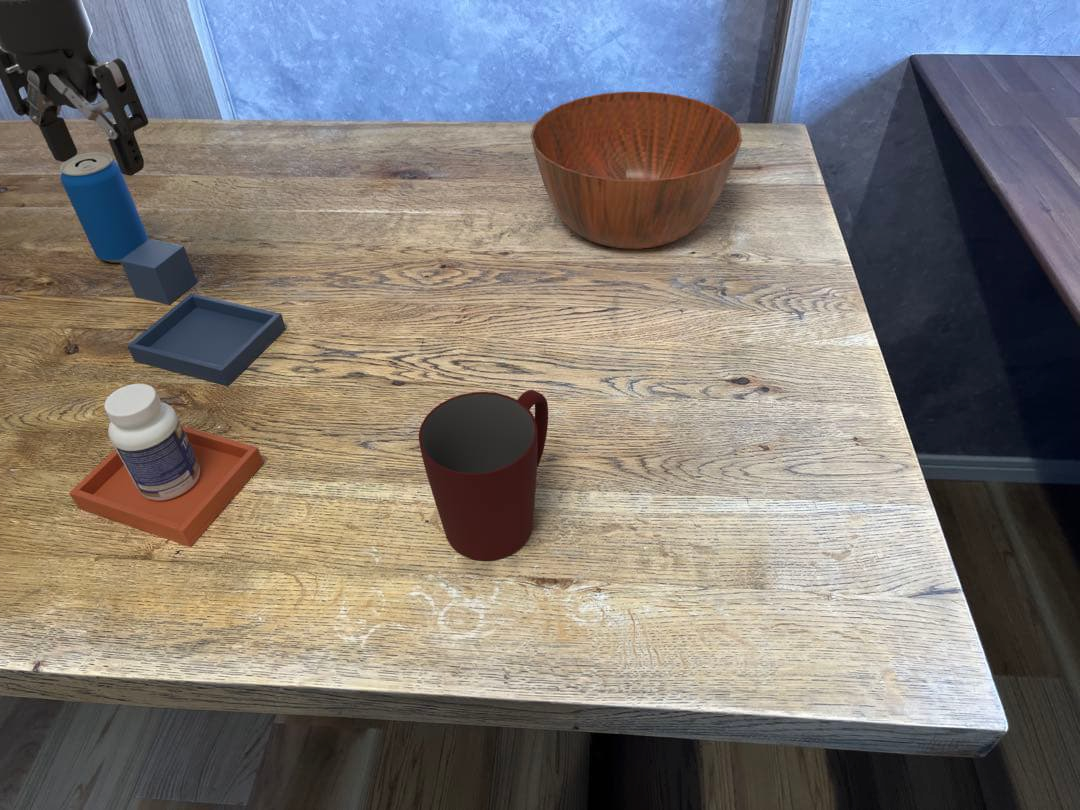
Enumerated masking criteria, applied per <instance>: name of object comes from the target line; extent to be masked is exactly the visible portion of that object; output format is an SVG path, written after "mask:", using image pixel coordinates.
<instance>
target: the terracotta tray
mask: <svg viewBox="0 0 1080 810" xmlns="http://www.w3.org/2000/svg"><path fill="white" fill-rule="evenodd" d="M181 426H182V428H183V430H184V432H185V434H186V436H187V439H188V441H189V443H190V445H191V448H192V450H193V452H194V454H195V457H196V459H197V461H198V464H199V466H200V475H199V478H198V480H197V482H196V483H195V485H194V486H193V487H192V488H191V489H189V490H188V491H187V492H185V493H184V494H182V495H180V496H178V497H175V498H172V499H169V500H163V501H155V500H150V499H147V498H146V497H144V496H143V495H142V494H141V493H140V492H139V490H138V489H137V487H136V486H135V484H134V482H133V480H132V478H131V476H130V474H129V472H128V471H127V469H126V467H125V465H124V463H123V461H122V460H121V458H120V456H119V454H118V453H117V451H116V449H115V448H114V450H113V451H112V452H111V453H109V455H108V456H106V458H104V459H103V460H102V461H101V462H100V463H99V464H98V465H97V466H96V467H95V468H94V469H93V470H91V472H90V473H89V474H87V475H86V476H85V477H84V478H83V479H82V480H81V481H80V482H79V483H78V484H76V486H74V487H73V488H72V489H71V490H70V491H69V492H68V494H69V496H70V497H71V499H72V500H73V502H74V504H75V505H76V507H77V508H78V509H79V510H82V511H84V512H88V513H90V514H93V515H97V516H99V517H103V518H105V519H108V520H111V521H113V522H117V523H119V524H123V525H125V526H128V527H131V528H134V529H137V530H140V531H142V532H145V533H149V534H151V535H155V536H157V537H161V538H164V539H165V540H166V539H167V540H170V541H172V542H175V543H177V544H181V545H184V546H187V547H189V548H191V547H192V546H193V545H194V544H195V543H196V541H197V540H198V539H199V538H200V537H201V536H202V535H203V534H204V532H206V530H207V529H208V528H209V527H210V525H211V524H212V523H213V522H214V521H215V520H216V519H217V517H218V516H219V515H220V514H221V513H222V512H223V511H224V509H226V507H227V506H228V505H229V504H230V503H231V502H232V501H233V499H235V497H236V496H237V495H238V494H239V492H240V491H241V490H242V488H244V486H245V485H246V484H247V483H248V482H249V481H250V480H251V479H252V477H253V476H254V475H255V474H256V473H257V471H259V469H260V468H261V467H262V466H263V465H264V460H263V458H262V455H261V452H260V449H259V447H258V446H254V445H251V444H247V443H244V442H240V441H237V440H234V439H230V438H228V437H223V436H221V435H217V434H213V433H210V432H206V431H204V430H199V429H196V428H192V427H189V426H186V425H182V424H181Z"/></svg>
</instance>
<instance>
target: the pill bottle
mask: <svg viewBox="0 0 1080 810" xmlns="http://www.w3.org/2000/svg"><path fill="white" fill-rule="evenodd" d="M103 407H104V411H105V413H106V415H107V417H108V420H109V421H110V423H109V425H108V430H107V431H108V432H107V433H108V437H109V439H110V442H111V443H112V445H113V447H114V450H115V449H116V451H117V453H118V454H119V456H120V458H121V460H122V461H123V463H124V465H125V467H126V469H127V471H128V472H129V474H130V476H131V478H132V480H133V482H134V484H135V486H136V487H137V489H138V490H139V492H140V493H141V494H142V495H143V496H144V497H146V498H147V499H150V500H155V501H163V500H169V499H172V498H175V497H178V496H180V495H182V494H184V493H185V492H187V491H188V490H189V489H191V488H192V487H193V486H194V485H195V483H196V482H197V480H198V478H199V475H200V466H199V464H198V461H197V459H196V457H195V454H194V452H193V450H192V448H191V445H190V443H189V441H188V439H187V436H186V434H185V432H184V430H183V428H182V426H183V425H182V424H181V421H180V419H179V416H178V414H177V413H176V411H175V410H174V408H173V407H172V406H171V405H169V404H168V403H165V402H163V401H161V399H160V397H159V395H158V393H157V391H156V390H155V388H154V387H153V386H151V385H150V384H146V383H133V384H128V385H125V386H122V387H120V388H118V389H116V390H114V391H113V392H112V393H110V395H108V396H107V398H106V399H105V401H104V406H103ZM181 425H182V426H181Z"/></svg>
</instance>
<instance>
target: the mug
mask: <svg viewBox="0 0 1080 810" xmlns="http://www.w3.org/2000/svg"><path fill="white" fill-rule="evenodd" d="M532 407H534V414H533V412H532V411H531V409H532ZM548 428H549V405H548V401H547V398H546V396H545V395H543V394H542V393H541V392H539V391H537V390H534V389H528V390H525V391H524V392H523V393H521V395H519V397H518V398H514V397H512V396H510V395H507V394H502V393H497V392H491V391H490V392H489V391H477V392H475V391H474V392H468V393H464V394H463V393H462V394H459V395H457V396H454V397H451V398H449V399H447V400H445V401H443V402H441V403H439V404H438V405H437V406H435V407H434V408H433V409H432V410H430V412H428V414H427V415H426V416H425V417H424V419H423V420H422V423H421V425H420V427H419V431H418V444H419V449H420V454H421V458H422V462H423V466H424V470H425V472H426V477H427V481H428V484H429V486H430V490H431V493H432V497H433V500H434V503H435V506H436V509H437V512H438V517H439V520H440V522H441V525H442V528H443V532H444V535H445V537H446V540H447V542H448V544H449V545H450V546H451V548H452V549H453V550H455V551H456V552H457V553H458V554H459V555H462V556H464V557H466V558H469V559H472V560H476V561H497V560H500V559H503V558H506V557H508V556H511V555H513V554H515V553H516V552H518V551H519V550H520V549H522V547H524V545H525V544H526V543H527V541H528V540H529V538H531V534H532V531H533V526H534V519H535V517H534V515H535V502H536V487H537V473H538V468H539V465H540V463H541V460H542V456H543V455H544V449H545V446H546V442H547V441H546V440H547V434H548Z"/></svg>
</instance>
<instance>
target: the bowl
mask: <svg viewBox="0 0 1080 810" xmlns="http://www.w3.org/2000/svg"><path fill="white" fill-rule="evenodd" d="M530 140H531V144H532V148H533V153H534V156H535V159H536V163H537V167H538V171H539V174H540V177H541V180H542V182H543V186H544V188H545V191H546V194H547V196H548V198H549V200H550V202H551V205H552V206H553V208H554V210H555V212H556V213H557V215H558V216H559V217H560V219H561V220H562V221H563V222H564V223H565V224H566V225H567V226H568V227H569V228H570V230H572V232H574V233H576V234H577V235H579V236H581V237H582V238H584V239H585V240H587V241H590V242H593V243H596V244H598V245H601V246H605V247H610V248H616V249H629V250H639V249H641V250H642V249H649V248H656V247H657V248H658V247H660V246H665V245H668V244H671V243H675V242H676V241H678V240H680V239H682V238H684V237H686V236H688V235H689V234H690V233H691V232H692V231H694V230H695V229H696V228H698V226H699V225H701V224H702V223H703V221H705V220H706V218H707V217H708V215H709V214H710V213H711V211H712V210H713V208H714V206H715V205H716V203H717V201H718V199H719V197H720V195H721V193H722V191H723V189H724V188H725V185H726V183H727V181H728V179H729V176H730V175H731V172H732V169H733V167H734V165H735V162H736V159H737V157H738V154H739V152H740V148H741V145H742V142H743V138H742V130H741V128H740V126H739V125H738V123H737V122H736V121H735V119H734V118H733V117H732V116H731V115H729V114H728V113H726V112H724V111H723V110H722V109H720V108H719V107H716V106H714V105H711V104H709V103H706V102H704V101H701V100H700V99H695V98H691V97H687V96H683V95H678V94H674V93H673V94H672V93H663V92H656V91H616V92H606V93H605V92H604V93H598V94H593V95H588V96H584V97H579V98H576V99H573V100H570V101H568V102H563V103H561V104H559V105H558V106H556V107H554V108H552V109H550V110H549V111H547V112H545V113H543V115H541V116H540V117H539V118H538V119H537V120H536V122H535V123H534V124H533V127H532V130H531V132H530Z"/></svg>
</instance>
